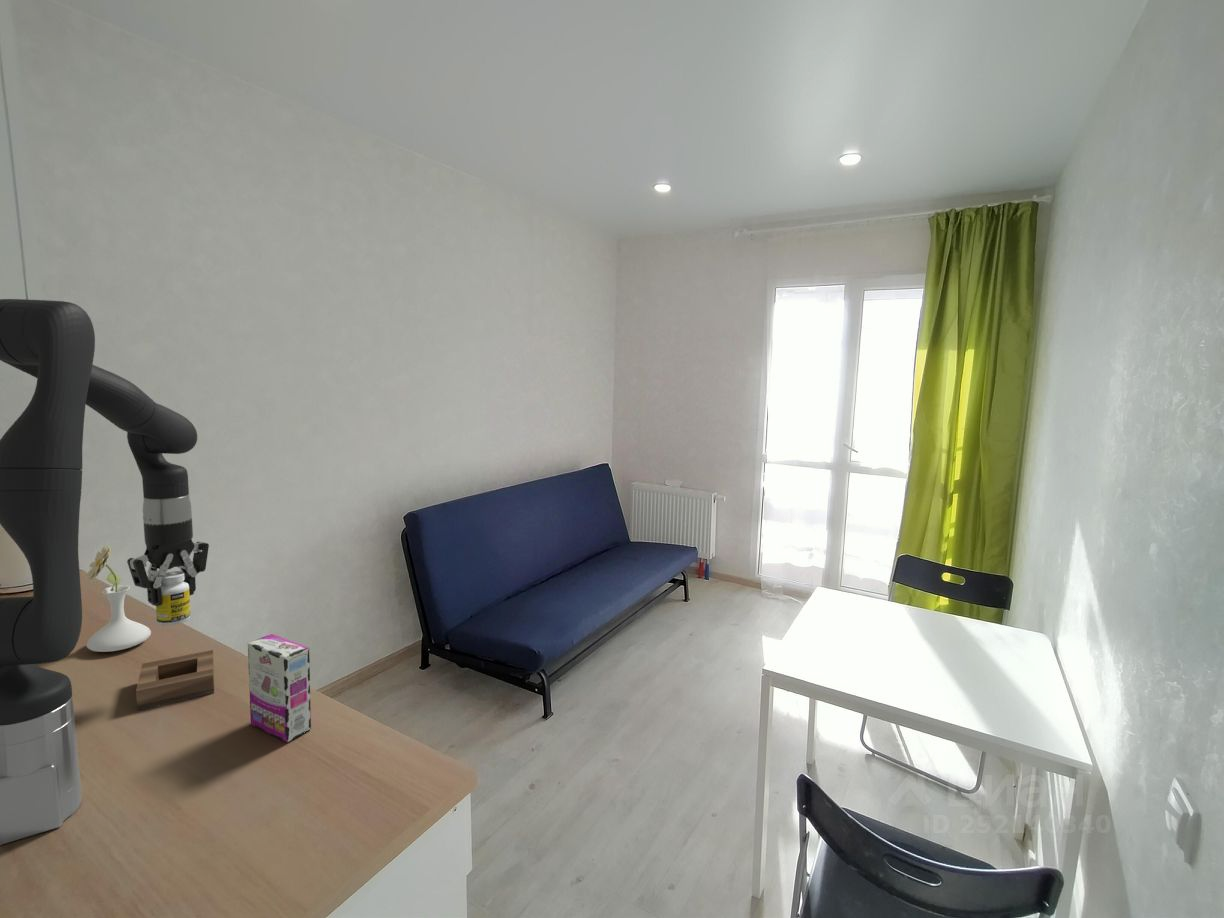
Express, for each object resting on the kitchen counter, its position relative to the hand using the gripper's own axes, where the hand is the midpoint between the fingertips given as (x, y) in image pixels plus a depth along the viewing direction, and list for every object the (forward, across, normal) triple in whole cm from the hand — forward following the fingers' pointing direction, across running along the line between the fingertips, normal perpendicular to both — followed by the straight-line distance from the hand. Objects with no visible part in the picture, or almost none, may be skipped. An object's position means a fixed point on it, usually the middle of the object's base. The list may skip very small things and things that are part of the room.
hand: (173, 599), depth 113 cm
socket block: (+19, 0, 0) cm, 19 cm away
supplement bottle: (+5, 0, 0) cm, 5 cm away
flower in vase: (+19, +6, +29) cm, 35 cm away
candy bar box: (+19, -1, -30) cm, 36 cm away
